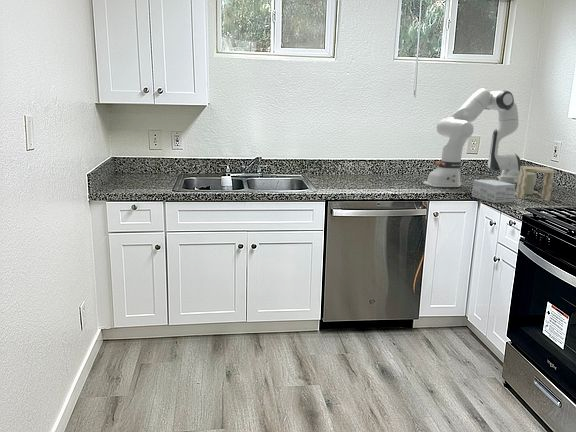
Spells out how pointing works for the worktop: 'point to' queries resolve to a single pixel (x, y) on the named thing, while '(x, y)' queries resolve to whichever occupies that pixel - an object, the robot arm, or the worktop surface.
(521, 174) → the tunnel
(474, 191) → the supplement box
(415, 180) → the worktop surface
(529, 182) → the can
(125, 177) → the worktop surface
